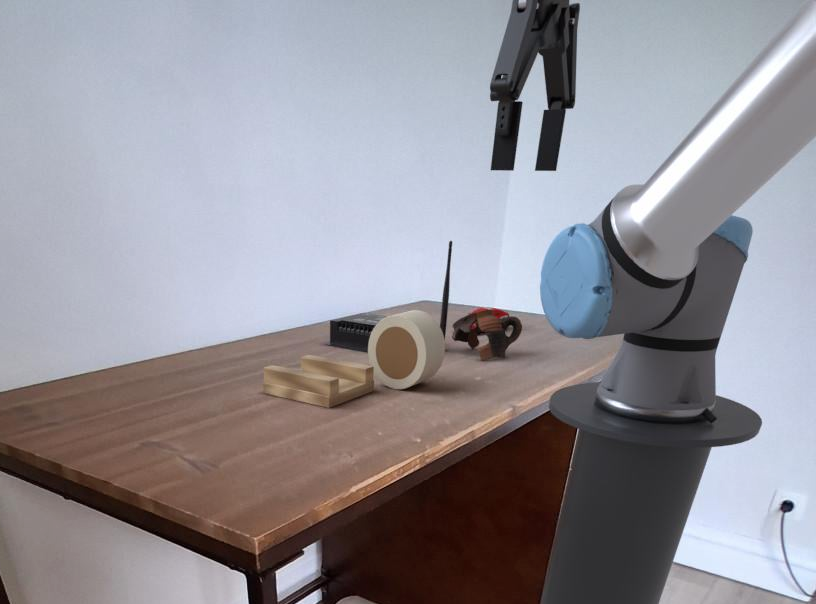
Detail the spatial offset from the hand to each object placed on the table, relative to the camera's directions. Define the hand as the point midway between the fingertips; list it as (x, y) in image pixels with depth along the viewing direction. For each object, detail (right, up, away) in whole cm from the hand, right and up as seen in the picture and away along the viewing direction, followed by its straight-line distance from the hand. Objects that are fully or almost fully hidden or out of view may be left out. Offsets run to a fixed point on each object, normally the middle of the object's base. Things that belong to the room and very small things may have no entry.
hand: (524, 171), depth 86 cm
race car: (+6, +3, +51) cm, 51 cm away
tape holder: (-27, -24, +12) cm, 38 cm away
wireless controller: (-14, -6, +38) cm, 41 cm away
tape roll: (-12, -22, +14) cm, 28 cm away
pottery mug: (+2, -10, +33) cm, 35 cm away
